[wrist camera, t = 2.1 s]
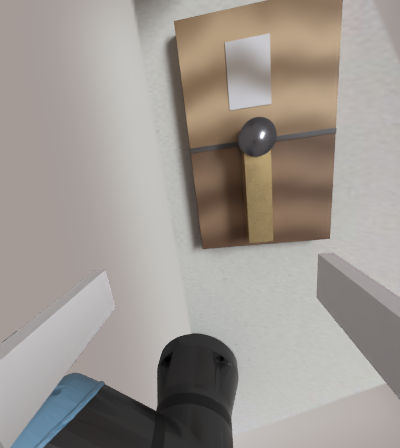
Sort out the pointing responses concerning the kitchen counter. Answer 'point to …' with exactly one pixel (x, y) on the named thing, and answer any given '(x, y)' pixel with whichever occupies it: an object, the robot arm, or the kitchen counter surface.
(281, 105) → the base
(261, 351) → the kitchen counter surface
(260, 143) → the bar
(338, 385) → the kitchen counter surface
